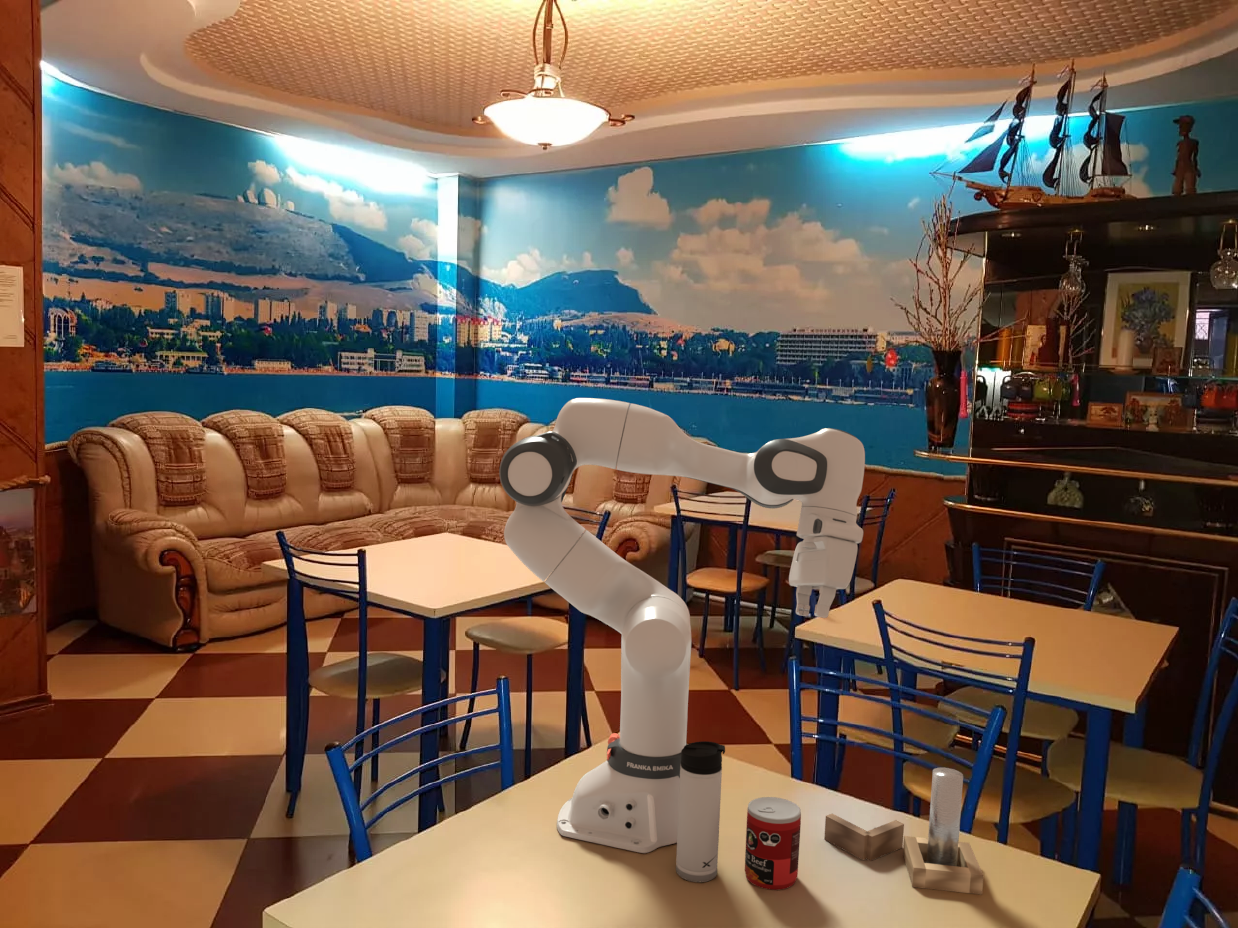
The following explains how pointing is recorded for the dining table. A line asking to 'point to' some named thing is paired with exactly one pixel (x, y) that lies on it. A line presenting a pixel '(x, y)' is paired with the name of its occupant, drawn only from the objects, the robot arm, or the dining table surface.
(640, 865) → the dining table surface
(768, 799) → the canned food
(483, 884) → the dining table surface
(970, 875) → the oak collar
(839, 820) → the walnut V-block
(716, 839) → the travel mug
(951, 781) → the steel axle
